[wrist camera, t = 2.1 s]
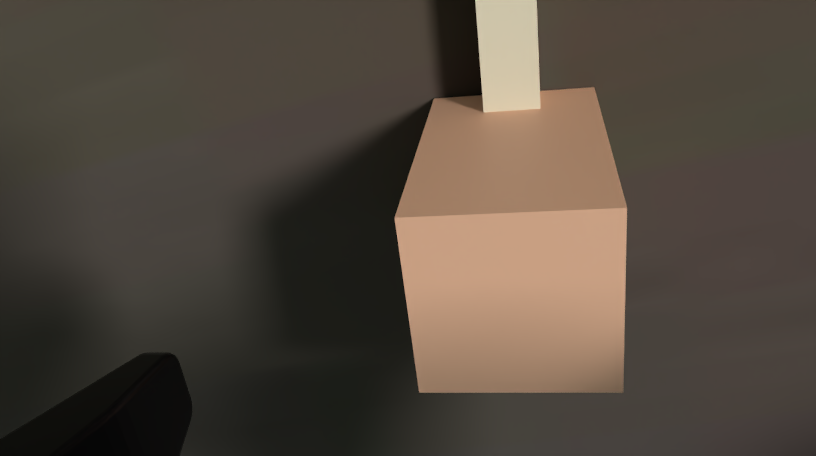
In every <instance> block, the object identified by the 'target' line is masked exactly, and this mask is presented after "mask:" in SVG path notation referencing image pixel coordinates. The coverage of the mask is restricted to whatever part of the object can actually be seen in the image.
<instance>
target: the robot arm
mask: <svg viewBox="0 0 816 456" xmlns="http://www.w3.org/2000/svg"><path fill="white" fill-rule="evenodd" d="M191 416H192V401H191V397H190V394H189V391H188V388H187V385H186V382H185V379H184V376H183V373H182V370H181V367H180V363H179V361H178V359H177V358H176V356H175V355H173V354H171V353H168V352H165V353H143V354H140V355H139V356H137V357H135V358H134V359H132V360H130V361H129V362H127V363H125V364H124V365H122V366H120V367H119V368H117V369H115V370H114V371H112V372H110V373H109V374H107V375H106V376H104V377H102V378H101V379H99V380H97V381H96V382H94V383H92V384H91V385H89V386H87V387H86V388H84V389H82V390H81V391H79V392H77V393H76V394H74V395H73V396H71V397H69V398H68V399H66V400H64V401H63V402H61V403H59V404H58V405H56V406H54V407H53V408H51V409H49V410H48V411H46V412H44V413H43V414H41V415H40V416H38V417H36V418H35V419H33V420H31V421H30V422H28V423H26V424H25V425H23V426H21V427H20V428H18V429H16V430H15V431H13V432H11V433H10V434H8V435H7V436H5V437H3V438H2V439H0V456H180V453H181V450H182V446H183V443H184V440H185V437H186V434H187V430H188V427H189V424H190V421H191Z"/></svg>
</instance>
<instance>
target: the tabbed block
mask: <svg viewBox="0 0 816 456" xmlns="http://www.w3.org/2000/svg"><path fill="white" fill-rule="evenodd" d="M475 3H476V16H477V30H478V44H479V57H480V71H481V84H482V95H477V96H463V97H449V98H435V99H434V100H433V103H432V106H431V109H430V112H429V115H428V118H427V121H426V124H425V127H424V130H423V133H422V136H421V139H420V142H419V145H418V148H417V151H416V154H415V157H414V160H413V163H412V166H411V169H410V172H409V175H408V179H407V182H406V185H405V188H404V191H403V194H402V197H401V200H400V203H399V206H398V209H397V212H396V215H395V225H396V232H397V239H398V246H399V253H400V260H401V267H402V275H403V282H404V289H405V296H406V303H407V310H408V317H409V324H410V331H411V338H412V345H413V352H414V360H415V367H416V374H417V381H418V388H419V393H623V376H624V328H625V280H626V231H627V206H626V202H625V199H624V195H623V191H622V188H621V184H620V180H619V177H618V173H617V169H616V166H615V162H614V158H613V155H612V151H611V147H610V144H609V140H608V136H607V132H606V129H605V125H604V121H603V118H602V114H601V110H600V107H599V103H598V99H597V96H596V92H595V88H594V87H590V88H576V89H562V90H547V91H540V82H539V54H538V27H537V0H475Z"/></svg>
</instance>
